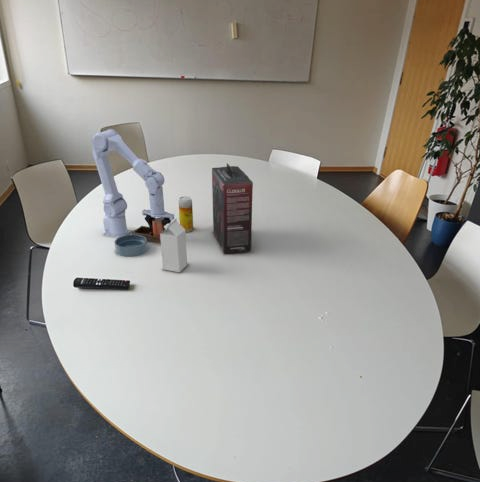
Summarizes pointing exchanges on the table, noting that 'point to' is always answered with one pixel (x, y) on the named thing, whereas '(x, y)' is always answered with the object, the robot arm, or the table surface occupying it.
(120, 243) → the bowl
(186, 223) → the beer can
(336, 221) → the table surface
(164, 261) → the milk carton
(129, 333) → the table surface
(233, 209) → the headset box
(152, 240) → the box
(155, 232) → the cup
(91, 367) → the table surface
